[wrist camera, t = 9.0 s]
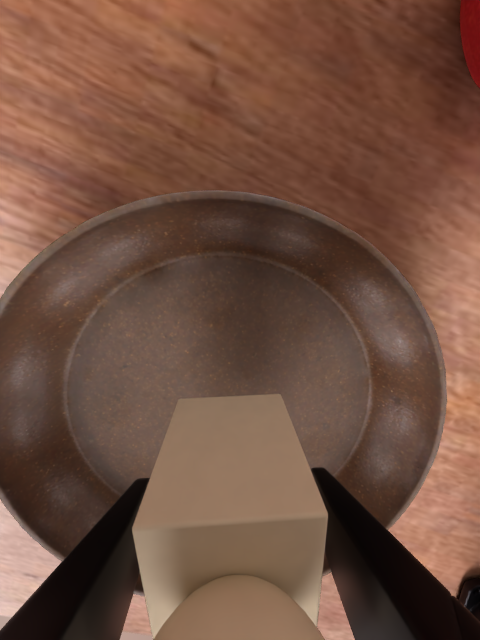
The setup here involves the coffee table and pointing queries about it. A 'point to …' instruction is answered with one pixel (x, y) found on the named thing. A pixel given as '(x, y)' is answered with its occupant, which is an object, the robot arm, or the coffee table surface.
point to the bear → (231, 526)
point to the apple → (471, 36)
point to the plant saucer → (209, 353)
